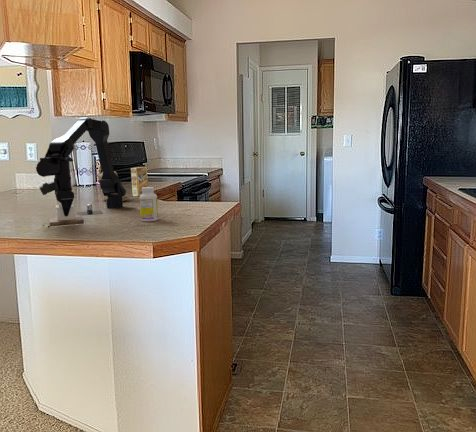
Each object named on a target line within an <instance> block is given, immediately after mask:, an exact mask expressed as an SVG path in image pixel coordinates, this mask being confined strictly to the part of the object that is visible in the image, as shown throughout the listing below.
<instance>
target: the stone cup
mask: <svg viewBox="0 0 476 432" xmlns="http://www.w3.org/2000/svg"><path fill="white" fill-rule="evenodd" d="M114 173H115V174H116V175H117V176H118V172H117V171H114ZM118 177H119V176H118ZM101 178H102V173H100V174H98V176H97V179H98V181H99V180H101ZM115 194H118V193H115ZM102 199H103V200H105V201H106V199H107V196H103V197H102ZM128 199H129V196H127V195H124V196H122V201H123V202H124V201H127V200H128Z"/></svg>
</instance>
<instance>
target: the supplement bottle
mask: <svg viewBox="0 0 476 432" xmlns="http://www.w3.org/2000/svg"><path fill="white" fill-rule="evenodd" d="M158 207H159V206H158V195H157V194H156V193H155V187H154V186H148V187H143V188H142V194H141V195H140V196H139V208H140V209H139V210H140V211H139V212H140V220H141V221H142V222H147V223H149V222H156V221H158V220H159V209H158Z"/></svg>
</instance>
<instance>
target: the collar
mask: <svg viewBox="0 0 476 432" xmlns="http://www.w3.org/2000/svg"><path fill="white" fill-rule="evenodd" d="M75 209H76V208H75V205H74V203H72V205H71V208H70V211H69V214H68V216H65V215H64V212H63V208H62V205H61V204H56V205H55V212H56V217H57V221H60V220H72V219H75V216H76V212H75V211H76V210H75Z"/></svg>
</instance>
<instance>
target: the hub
mask: <svg viewBox="0 0 476 432" xmlns="http://www.w3.org/2000/svg"><path fill="white" fill-rule="evenodd" d="M48 220H49V221H48V222H49V227H60V226H71V225H73V226H75V225H82V224H83V225H84V224H85V222H84V218H83V216H81V215H78V214H77V215H76V214H75V219H72V220H60V221H57V216H55V217H54V216H52V217H48Z"/></svg>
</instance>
